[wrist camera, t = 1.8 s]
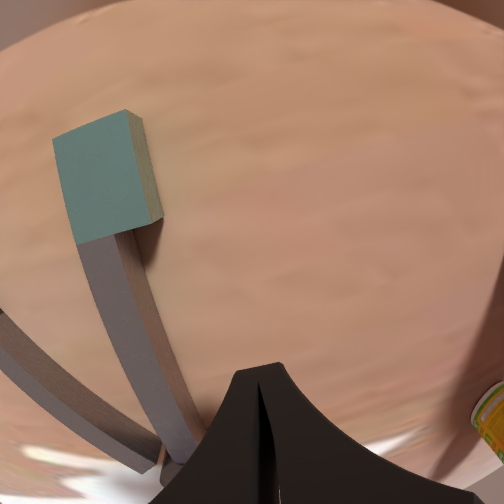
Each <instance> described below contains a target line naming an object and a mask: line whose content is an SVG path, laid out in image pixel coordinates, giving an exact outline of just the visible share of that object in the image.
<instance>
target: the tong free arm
mask: <svg viewBox="0 0 504 504" xmlns="http://www.w3.org/2000/svg"><path fill="white" fill-rule="evenodd" d="M52 140H53V146H54V152H55V158H56V163H57V168H58V174H59V178H60V183H61V188H62V192H63V196H64V201H65V205H66V209H67V213H68V217H69V221H70V224H71V228H72V232H73V235H74V239H75V242H76V246H77V249H78V252H79V255H80V259H81V262H82V265H83V268H84V271H85V274H86V277H87V280H88V283H89V286H90V289H91V291H92V294H93V297H94V300H95V302H96V305H97V308H98V310H99V313H100V316H101V318H102V321H103V323H104V326H105V328H106V330H107V333H108V335H109V338H110V340H111V342H112V345H113V347H114V349H115V352H116V354H117V356H118V358H119V360H120V363H121V365H122V367H123V369H124V371H125V373H126V375H127V378H128V380H129V382H130V384H131V386H132V388H133V390H134V392H135V394H136V396H137V398H138V400H139V401H140V403H141V405H142V407H143V409H144V411H145V413H146V415H147V416H148V418H149V420H150V422H151V424H152V425H153V427H154V429H155V431H156V432H157V434H158V436H159V438H160V439H161V441H162V443H163V444H164V446H165V448H166V449H167V451H168V453H169V454H170V456H171V457H172V459H173V461H174V462H175V464H185V463H186V462H187V461H188V459H189V458H190V457H191V455H192V454H193V452H194V451H195V449H196V448H197V447H198V445H199V443H200V442H201V440H202V439H203V437H204V435H205V434H206V432H207V431H206V429H205V427H204V425H203V422H202V420H201V418H200V416H199V414H198V411H197V409H196V407H195V405H194V402H193V400H192V398H191V395H190V393H189V391H188V388H187V386H186V384H185V381H184V379H183V376H182V374H181V371H180V369H179V366H178V364H177V361H176V359H175V356H174V354H173V351H172V349H171V346H170V343H169V341H168V338H167V335H166V332H165V330H164V327H163V324H162V321H161V319H160V316H159V313H158V310H157V307H156V304H155V301H154V298H153V295H152V292H151V289H150V286H149V283H148V280H147V277H146V274H145V270H144V267H143V264H142V261H141V257H140V254H139V251H138V247H137V244H136V240H135V237H134V233H133V230H132V229H134V228H137V227H141V226H145V225H149V224H152V223H154V222H155V221H157V220H159V219H160V218H162V217H164V212H163V209H162V205H161V201H160V197H159V193H158V188H157V184H156V180H155V176H154V172H153V167H152V163H151V158H150V154H149V149H148V145H147V140H146V135H145V131H144V126H143V121H142V118H140V117H138V116H137V115H135V114H133V113H131V112H130V111H128V110H126V109H125V110H122V111H119V112H117V113H114V114H111V115H109V116H106V117H103V118H101V119H98V120H96V121H93V122H91V123H88V124H86V125H83V126H81V127H78V128H76V129H74V130H71V131H69V132H67V133H65V134H62V135H60V136H58V137H56V138H54V139H52Z"/></svg>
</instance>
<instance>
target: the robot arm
mask: <svg viewBox="0 0 504 504" xmlns="http://www.w3.org/2000/svg"><path fill="white" fill-rule="evenodd" d="M279 490H280V497H279ZM280 501H281V504H484V503H483V502H482V500H480V499H479V497H478V496H476V494H475V493H473V492H469V491H465V490H461V489H458V488H454V487H450V486H447V485H444V484H441V483H438V482H435V481H432V480H429V479H427V478H424V477H422V476H419V475H417V474H414V473H412V472H409V471H407V470H405V469H403V468H401V467H399V466H397V465H395V464H393V463H391V462H390V461H388V460H386V459H384V458H382V457H380V456H378V455H376V454H375V453H373V452H371V451H370V450H368V449H367V448H365V447H364V446H362V445H361V444H359V443H357V442H356V441H355V440H353V439H352V438H351V437H349V436H348V435H346V434H345V433H344V432H343V431H341V430H340V429H339V428H338V427H336V426H335V425H334V424H333V423H332V422H331V421H329V420H328V419H327V418H326V417H325V416H324V415H323V414H322V413H321V412H320V411H319V410H318V409H317V408H316V407H315V406H314V405H313V404H312V403H311V402H310V401H309V400H308V399H307V398H306V397H305V395H304V394H303V393H302V392H301V391H300V390H299V388H298V387H297V386H296V384H295V383H294V382H293V380H292V379H291V378H290V376H289V374H288V373H287V371H286V369H285V367H284V365H283V364H282V363H280V362H276V363H272V364H267V365H263V366H258V367H253V368H248V369H244V370H239V371H236V372H235V374H234V375H233V378H232V381H231V383H230V386H229V388H228V391H227V393H226V395H225V398H224V400H223V402H222V404H221V406H220V408H219V410H218V412H217V414H216V416H215V418H214V420H213V422H212V424H211V425H210V427H209V429H208V430H207V432H206V434H205V435H204V437H203V439H202V440H201V442H200V443H199V445H198V447H197V448H196V449H195V451H194V452H193V454H192V455H191V457H190V458H189V459H188V461H187V462H186V463H185V465H184V466H183V467H182V468H181V470H180V471H179V472H178V473H177V474H176V476H175V477H174V478H173V479H172V480H171V481H170V482H169V483H168V484H167V486H166V487H165V488H164V489H163V490H162V491H161V492H160V493H159V494H158V495H157V496H156V497H155V498H154V499H153V500H152V501H151V502H150V503H148V504H280Z"/></svg>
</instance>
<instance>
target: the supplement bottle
mask: <svg viewBox="0 0 504 504" xmlns="http://www.w3.org/2000/svg"><path fill="white" fill-rule="evenodd" d="M471 424H472V425H473V427H474V428H475V429H476V431H477V432H478V433H479V434H480V435H481V436H482V438H483V439H484V440H485V441H486V442H487V444H488V445H489V446H490V447H491V449H492V450H493V451H494V452H495V454H496V455H497V456H498V457H499V459H500V460H501V461H502V462H503V464H504V381H502V382H499V383H497V384H496V385H494V386H493V387H491V388H490V389H489V390H488V391H487V392H486V393H485V394H484V395H483V396H482V398H481V399H480V400H479V402H478V403H477V405H476V406H475V408H474V410H473V412H472V415H471Z"/></svg>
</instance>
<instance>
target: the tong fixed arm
mask: <svg viewBox="0 0 504 504" xmlns="http://www.w3.org/2000/svg"><path fill="white" fill-rule="evenodd" d="M0 370H1V371H2V372H3V373H4V374H6V375H7V376H8V377H9V378H10V379H11V380H12V381H13V382H14V383H15V384H16V385H17V386H18V387H19V388H20V389H21V390H23V391H24V392H25V393H26V394H27V395H28V396H29V397H31V398H32V399H33V400H34V401H35V402H36V403H38V404H39V405H40V406H41V407H42V408H44V409H45V410H46V411H47V412H48V413H50V414H51V415H52V416H54V417H55V418H56V419H57V420H59V421H60V422H61V423H63V424H64V425H65V426H67V427H68V428H69V429H71V430H72V431H73V432H75V433H76V434H78V435H79V436H80V437H82V438H83V439H85V440H86V441H88V442H89V443H91V444H92V445H94V446H95V447H97V448H98V449H100V450H101V451H103V452H104V453H106V454H108V455H109V456H111V457H112V458H114V459H116V460H117V461H119V462H121V463H123V464H124V465H126V466H128V467H129V468H131V469H133V470H135V471H137V472H138V473H140V474H143V473H145V472H146V471H148V470H149V469H151V468H152V467H154V466H155V465H156V464H157V460H158V456H159V451H160V447H161V443H162V441H161V439H160V438H159V437H158V436H156V435H154V434H153V433H151V432H150V431H148V430H146V429H145V428H143V427H142V426H140V425H138V424H137V423H135V422H134V421H132V420H131V419H129V418H128V417H126V416H125V415H123V414H122V413H120V412H119V411H117V410H116V409H115V408H113V407H112V406H110V405H109V404H108V403H106V402H105V401H103V400H102V399H101V398H99V397H98V396H97V395H95V394H94V393H93V392H91V391H90V390H89V389H87V388H86V387H85V386H84V385H82V384H81V383H80V382H79V381H77V380H76V379H75V378H74V377H72V376H71V375H70V374H69V373H68V372H66V371H65V370H64V369H63V368H62V367H60V366H59V365H58V364H57V363H56V362H55V361H53V360H52V359H51V358H50V357H49V356H48V355H47V354H46V353H45V352H43V351H42V350H41V349H40V348H39V347H38V346H37V345H36V344H35V343H34V342H33V341H32V340H31V339H30V338H29V337H28V336H27V335H26V334H24V333H23V332H22V331H21V330H20V329H19V328H18V327H17V325H16V324H15V323H14V322H13V321H12V320H11V319H10V318H9V317H8V316H7V315H6V314H5V313H4V312H3V311H2V310H1V309H0ZM184 465H185V464H175V462H174V461H173V459H172V457H171V456H170V454H169V453H168V451H167V449H166V451H165V456H164V460H163V465H162V470H161V475H160V483H161V485H162V486H163V487H164V488H165V487H166V486H167V484H168V483H169V482H170V481H171V480H172V479H173V478H174V477H175V476H176V474H177V473H178V472H179V471H180V470H181V468H182V467H183V466H184Z"/></svg>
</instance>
